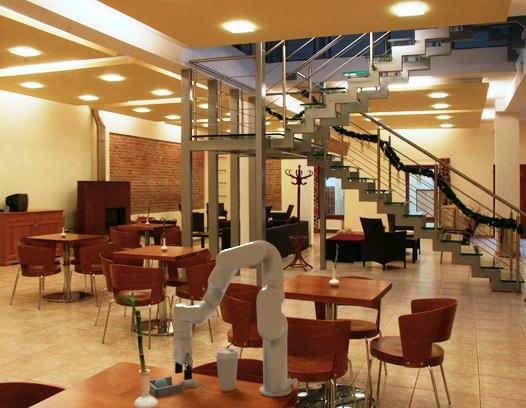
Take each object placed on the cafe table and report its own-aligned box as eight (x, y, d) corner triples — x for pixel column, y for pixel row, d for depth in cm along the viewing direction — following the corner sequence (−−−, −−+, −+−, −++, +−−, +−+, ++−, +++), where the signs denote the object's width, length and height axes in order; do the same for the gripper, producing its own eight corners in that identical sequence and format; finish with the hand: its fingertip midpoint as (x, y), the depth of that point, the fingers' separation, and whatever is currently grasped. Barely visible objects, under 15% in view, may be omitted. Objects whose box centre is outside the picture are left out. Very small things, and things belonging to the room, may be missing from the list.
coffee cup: (238, 392, 213) (238, 354, 213) (214, 392, 213) (214, 354, 213) (239, 384, 223) (239, 347, 223) (216, 384, 223) (216, 348, 223)
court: (171, 383, 225) (170, 376, 225) (182, 391, 214) (182, 384, 214) (145, 388, 219) (145, 380, 219) (155, 397, 209) (155, 389, 209)
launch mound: (199, 405, 232) (198, 372, 232) (213, 416, 220) (213, 381, 220) (168, 412, 225) (167, 378, 225) (181, 423, 213) (180, 387, 213)
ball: (156, 374, 218) (166, 379, 220) (150, 386, 216) (160, 390, 219) (161, 378, 213) (171, 382, 216) (155, 390, 212) (165, 394, 214)
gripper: (166, 331, 227) (167, 372, 227) (182, 339, 212) (182, 383, 212) (183, 329, 231) (183, 369, 230) (200, 337, 216) (200, 380, 216)
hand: (183, 376), depth 221 cm, fingers open, 9 cm apart
